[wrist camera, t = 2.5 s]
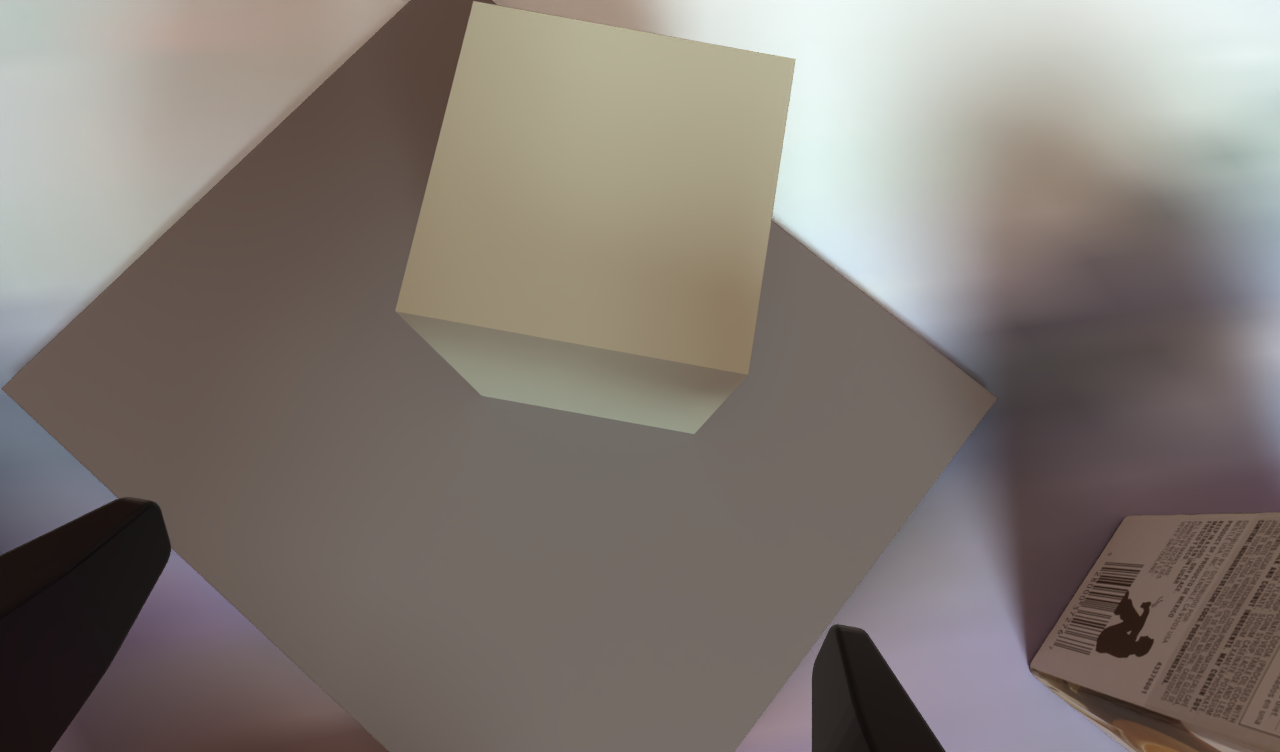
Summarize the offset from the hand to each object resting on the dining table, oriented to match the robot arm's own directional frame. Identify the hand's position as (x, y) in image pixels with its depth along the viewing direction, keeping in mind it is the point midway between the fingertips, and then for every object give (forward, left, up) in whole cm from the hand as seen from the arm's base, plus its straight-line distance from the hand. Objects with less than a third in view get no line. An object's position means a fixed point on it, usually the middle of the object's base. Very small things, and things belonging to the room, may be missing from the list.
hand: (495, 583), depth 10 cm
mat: (+4, -3, -14) cm, 14 cm away
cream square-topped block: (+4, -7, -13) cm, 15 cm away
